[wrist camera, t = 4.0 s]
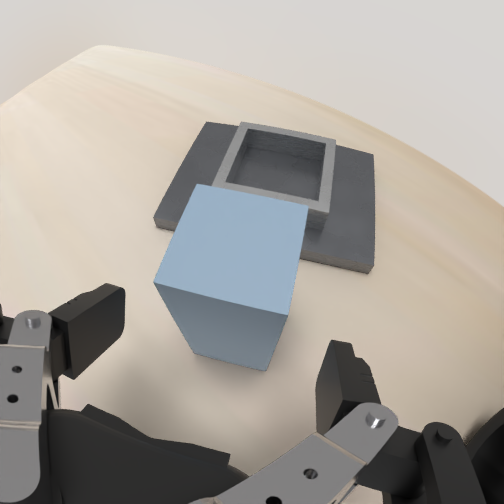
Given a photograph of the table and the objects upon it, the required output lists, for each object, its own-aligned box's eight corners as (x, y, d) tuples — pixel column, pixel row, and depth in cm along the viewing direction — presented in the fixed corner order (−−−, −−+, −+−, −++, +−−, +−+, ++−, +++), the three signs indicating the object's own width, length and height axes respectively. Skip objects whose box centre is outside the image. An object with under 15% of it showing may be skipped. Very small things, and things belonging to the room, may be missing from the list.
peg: (280, 305, 21) (308, 205, 12) (265, 371, 18) (288, 315, 10) (214, 289, 21) (196, 183, 13) (193, 353, 19) (153, 282, 10)
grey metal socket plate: (369, 163, 28) (379, 138, 25) (368, 273, 22) (384, 250, 19) (207, 131, 30) (205, 104, 27) (156, 227, 24) (147, 199, 21)
